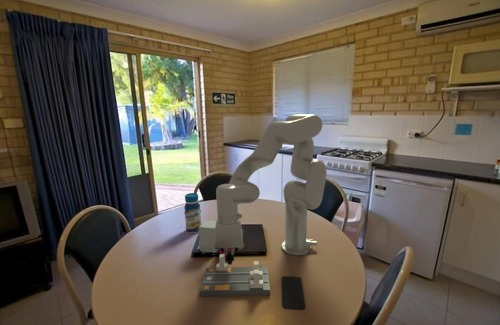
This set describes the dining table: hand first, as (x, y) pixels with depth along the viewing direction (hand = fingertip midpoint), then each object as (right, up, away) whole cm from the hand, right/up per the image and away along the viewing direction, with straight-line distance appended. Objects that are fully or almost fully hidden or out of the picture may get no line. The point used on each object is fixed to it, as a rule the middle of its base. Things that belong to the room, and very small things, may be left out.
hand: (230, 262), depth 92 cm
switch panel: (+3, -6, -4) cm, 7 cm away
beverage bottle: (-22, +2, +37) cm, 44 cm away
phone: (+22, -7, -8) cm, 25 cm away
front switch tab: (+10, -5, -9) cm, 14 cm away
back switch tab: (-3, -3, +1) cm, 4 cm away
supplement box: (-10, -2, +19) cm, 21 cm away
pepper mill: (-2, -3, +15) cm, 15 cm away
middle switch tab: (+10, -4, -4) cm, 11 cm away
